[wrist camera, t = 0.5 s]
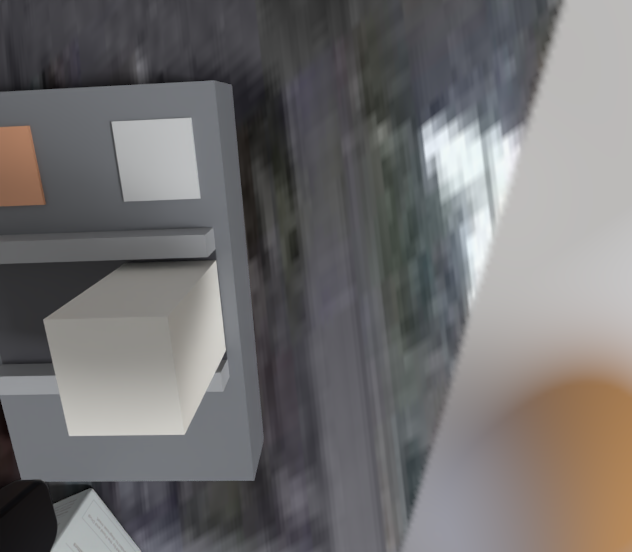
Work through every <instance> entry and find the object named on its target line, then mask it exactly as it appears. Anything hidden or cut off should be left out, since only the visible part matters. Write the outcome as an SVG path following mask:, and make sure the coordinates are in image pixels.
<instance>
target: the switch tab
mask: <svg viewBox="0 0 632 552" xmlns="http://www.w3.org/2000/svg"><path fill="white" fill-rule="evenodd" d="M43 322H44V326H45V331H46V335H47V339H48V344H49V348H50V353H51V357H52V362H53V366H54V371H55V375H56V380H57V384H58V389H59V393H60V398H61V402H62V407H63V411H64V416H65V420H66V425H67V429H68V434H69V436H120V435H185V433H186V431H187V429H188V427H189V425H190V423H191V421H192V419H193V417H194V415H195V413H196V411H197V409H198V406H199V404H200V402H201V400H202V398H203V396H204V394H205V392H206V390H207V388H208V386H209V384H210V382H211V380H212V378H213V376H214V374H215V372H216V370H217V368H218V366H219V364H220V362H221V360H222V358H223V356H224V353H225V351H226V347H225V338H224V328H223V319H222V310H221V301H220V292H219V283H218V273H217V264H216V260H206V261H175V262H144V263H125V264H123V265H122V266H120V267H119V268H117V269H116V270H114V271H113V272H112V273H110V274H109V275H107V276H106V277H104V278H103V279H101V280H100V281H98V282H97V283H96V284H94V285H93V286H91V287H90V288H88V289H87V290H85V291H84V292H83V293H81V294H80V295H78V296H77V297H75V298H74V299H72V300H71V301H69V302H68V303H67V304H65V305H64V306H62V307H61V308H59V309H58V310H56V311H55V312H53V313H52V314H51V315H49V316H48V317H46V318H45V319H43Z"/></svg>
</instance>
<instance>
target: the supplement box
mask: <svg viewBox="0 0 632 552" xmlns="http://www.w3.org/2000/svg"><path fill="white" fill-rule="evenodd" d="M53 507H54V511H55V514H56V518H57V524H58V529H57V535H56V539H55V542H54V544H53V546H52V549H51V551H50V552H142V551H141V550H140V549H139V548H138V546H137V545H136V544H135V542H134V541H133V540H132V539H131V537H130V536H129V535H128V534H127V532H126V531H125V530H124V528H123V527H122V526H121V524H120V523H119V522H118V520H117V519H116V518H115V517H114V515H113V514H112V513H111V511H110V510H109V509H108V507H107V506H106V505H105V504H104V502H103V501H102V500H101V499H100V497H99V496H98V494H97V493H96V492H95V491H94V489H92V488H89V489H87V490H84V491H82V492H80V493H77V494H75V495H73V496H70V497H68V498H66V499H63V500H61V501H59V502H57V503H54V504H53Z"/></svg>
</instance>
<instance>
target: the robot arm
mask: <svg viewBox="0 0 632 552" xmlns="http://www.w3.org/2000/svg"><path fill="white" fill-rule="evenodd" d="M57 529H58V524H57V518H56V514H55V511H54V507H53V503H52V499H51V496H50V492H49V488H48V485H47V484H46V483H45V482H44V481H43V480H40V479H32V480H17V481H14V482H12V483H10V484H8V485H7V486H5V487H3V488H1V489H0V552H50V551H51V549H52V546H53V544H54V542H55V539H56V535H57Z"/></svg>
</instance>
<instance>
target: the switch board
mask: <svg viewBox="0 0 632 552" xmlns="http://www.w3.org/2000/svg"><path fill="white" fill-rule="evenodd" d="M206 260H216V264H217V273H218V283H219V292H220V301H221V310H222V319H223V328H224V338H225V347H226V351H225V353H224V356H223V358H222V360H221V362H220V364H219V366H218V368H217V370H216V372H215V374H214V376H213V378H212V380H211V382H210V384H209V386H208V388H207V390H206V392H205V394H204V396H203V398H202V400H201V402H200V404H199V406H198V409H197V411H196V413H195V415H194V417H193V419H192V421H191V423H190V425H189V427H188V429H187V431H186V433H185V435H120V436H69V434H68V429H67V425H66V420H65V416H64V411H63V407H62V402H61V398H60V393H59V389H58V384H57V380H56V375H55V371H54V366H53V362H52V357H51V353H50V348H49V344H48V339H47V335H46V331H45V326H44V322H43V319H45V318H46V317H48V316H49V315H51V314H52V313H53V312H55V311H56V310H58V309H59V308H61V307H62V306H64V305H65V304H67V303H68V302H69V301H71V300H72V299H74V298H75V297H77V296H78V295H80V294H81V293H83V292H84V291H85V290H87V289H88V288H90V287H91V286H93V285H94V284H96V283H97V282H98V281H100V280H101V279H103V278H104V277H106V276H107V275H109V274H110V273H112V272H113V271H114V270H116V269H117V268H119V267H120V266H122V265H123V264H125V263H144V262H175V261H206ZM0 400H1V404H2V407H3V411H4V415H5V419H6V423H7V426H8V430H9V434H10V438H11V442H12V445H13V449H14V453H15V457H16V461H17V464H18V468H19V472H20V476H21V480H32V479H40V480H43V481H44V482H73V481H254V479H255V475H256V470H257V466H258V462H259V458H260V454H261V450H262V445H263V441H264V436H263V425H262V414H261V403H260V392H259V381H258V369H257V358H256V347H255V336H254V325H253V314H252V303H251V292H250V281H249V269H248V258H247V247H246V236H245V225H244V214H243V203H242V192H241V181H240V169H239V158H238V147H237V136H236V125H235V114H234V103H233V92H232V85H230V84H226V83H222V82H218V81H195V82H176V83H158V84H139V85H120V86H102V87H83V88H64V89H46V90H27V91H8V92H0Z"/></svg>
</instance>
